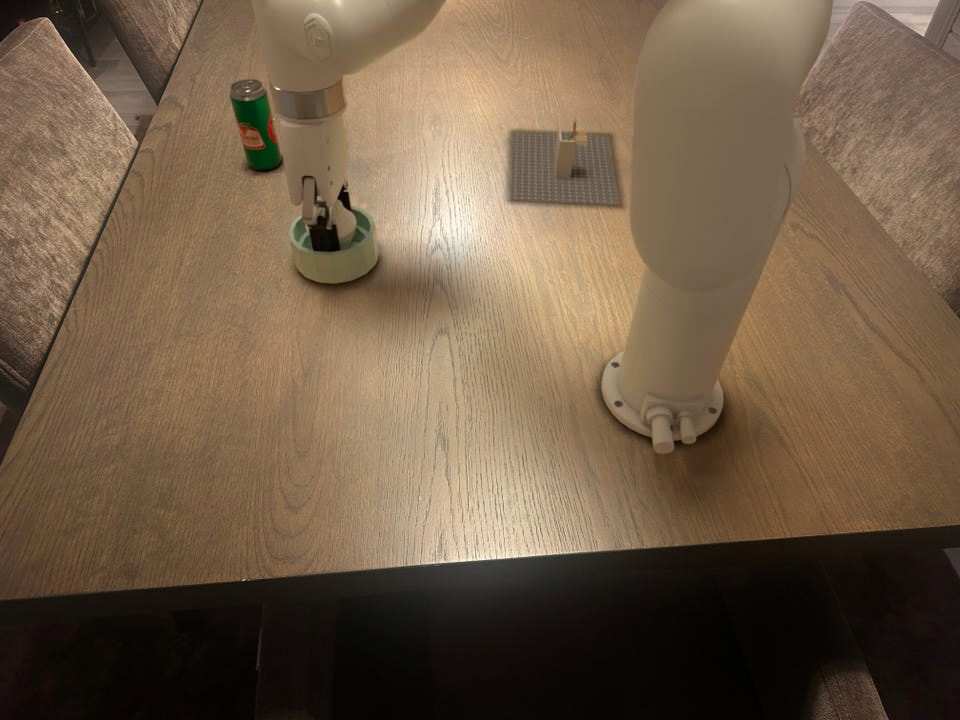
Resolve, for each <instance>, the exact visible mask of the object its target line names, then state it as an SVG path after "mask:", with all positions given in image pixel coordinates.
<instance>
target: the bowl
mask: <svg viewBox="0 0 960 720" xmlns="http://www.w3.org/2000/svg"><path fill="white" fill-rule="evenodd" d="M351 211H352V213H353V214H354V216H355V218H356V221H357V226H356V229H355V234H354V236H353V238H352V240H351V242H350V244H349V247H348V249H346V250H340V251H335V252H321V251H313V247H312V243H311V238H310V235H309V234H308V232H307V230H306V224H305V223H303V221H302V213H301V214H300V215H298V216H297V217H296V218H295V219H294V220H292V222H291V224H290V225H289V228H288V230H287V233H288V238H289V241H290V242H289V243H290V246H291V250H292V255H293V259H294V263H295V268H296V270H297V271H298V272H299V273H300V274H301V275H302V276H304V277H305V278H306V279H309V280H312V281H314V282H317V283H320V284H334V285H335V284H342V283H347V282H352V281H355V280H356V279H358V278H361V277H363V276H365V275H366V274H368V273H369V272H370V271H371V270H372V269H373V268H374V267H375V266H376V265H377V261H378V258H379V245H378V244H379V243H378V235H377V227H376V224H375V220H374V218H373V216H372V215H371V214H369V213H368V212H367V211H365V210H364V209H362V208H359V207H357V206H353V205H351Z"/></svg>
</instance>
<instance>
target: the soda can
mask: <svg viewBox="0 0 960 720" xmlns="http://www.w3.org/2000/svg"><path fill="white" fill-rule="evenodd" d="M229 99H230V103H231V106H232V110H233V113H234V118H235V122H236V125H237V129H238V132H239V138H240V142H241V144H242V147H243V153H244V156H245V160H246V162H247V165H248V166H249V167H250V168H252V169H254V170H256V171H270V170H273V169H275V168H277V167H278V166H279V165H280V164H281V162H282V159H283V158H282V154H281V148H280V145H279V140H278V136H277V130H276V125H275V122H274V117H273V113H272V112H273V111H272V108H271V103H270V100H269V95H268V90H267V89H266V88H265V87H264V85H263V82H262V81H260V80H258V79H254V78H253V79H252V78H246V79H240V80H237V81H235V82H233V83H231V85H230V92H229Z"/></svg>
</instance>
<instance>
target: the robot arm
mask: <svg viewBox="0 0 960 720" xmlns="http://www.w3.org/2000/svg"><path fill="white" fill-rule="evenodd" d="M250 1H251V5H252V6H251V7H252V9H253V14H254V19H255V24H256V29H257V32H258V33H257V34H258V37H259V38H258V39H259V42H260V48H261V53H262V57H263V61H264V66H265V70H266V74H267V75H266V76H267V79H268V83H269V88H270V93H271V97H272V102H273V107H274V112H275V114H276V116H277V117H279V118H280V139H281V150H282V157H283V158H282V159H283V165H284V171H285V176H286V183H287V189H288V194H289V200H290V203H291V204H292V205H293V206H294V207H298V206H301V205H302V208H301V209H302V211H301V214H302V221H303V223H305V224H307V228H308V229H309V233H310V238H311V243H312V247H313V251H321V252H335V251H340V244H339V238H338V232H337V226H336V224H333V213H332V205H333V204H334V203H335V202H336V200H337V199H338V200H340V201H341V202H342V204H343V207H344V208H346V209H347V210H349V211H350V212H352V211H351V206H352V205H351V199H350V198H351V197H350V192H349V191H348V188H349V182H348V179H347V174H348V171H349V168H350V152H349V144H348V137H347V131H346V130H347V129H346V125H345V119H344V115H343V114H344V113H345V111H346V110H347V108H348V99H347V93H346V85H345V79H344V77H345V76H352V75H355V74H358V73H360V72H362V71H364V70H365V69H367V68H369V67H371V66H372V65H374V64H375V63H377V62H378V61H381V60H382V59H384V58H385V57H386V56H387V55H390V54H391V53H393V52H394V51H395V50H397V49H399V48H401V47H403V46H405V45H406V44H409V43H410V42H412V41H413V40H415V39H416V38H418V37H419V36H420V35H421V34H423V33H424V32H425V31H426V29H428V27H429V26H430V25H431V24H432V23H433V21H434V20H435V18H436V17H437V15H438V13H440V11H441V9H442V8H443V6H444V4H445V3H446V1H447V0H250ZM833 5H834V0H667V1H666V3H665V4H664V5H663V6H662V8H661V9H660V10H659V12H658V13H657V15H656V16H655V18H654V19H653V21H652V23H651V25H650V26H649V29H648V30H647V33H646V35H645V37H644V40H643V43H642V46H641V50H640V52H639V57H638V61H637V66H636V68H635V76H634V82H633V83H634V84H633V99H632V119H631V120H632V121H631V122H632V123H631V147H630V149H631V150H630V151H631V152H630V174H629V175H630V177H629V203H628V204H629V207H628V209H629V214H628V215H629V227H630V232H631V237H632V241H633V244H634V247H635V249H636V251H637V253H638V255H639V257H640V259H641V260H642V262H643V263H644V265H645V267H644V270H643V274H642V278H641V281H640V285H639V290H638V293H637V297H636V302H635V305H634V309H633V314H632V317H631V320H630V321H631V322H630V326H629V330H628V334H627V338H626V342H625V346H624V350H623V351H622V350H621V351H620V352H618V353H617V354H616V355H614V356H613V357H612V358H611V359H610V360H609V361H608V363H607V364H606V366H605V367H604V370H603V374H602V378H601V384H600V385H601V386H600V389H601V394H602V398H603V401H604V403H605V405H606V407H607V408H608V410H609V411H610V413H611V414H612V415H613V416H614V418H616V419H617V420H618V421H619V422H620V423H621V424H623V425H624V426H626V427H627V428H628V429H630V430H631V431H634V432H636V433H638V434H640V435H643V436H645V437H648V438H651V440H652V449H653V451H654V452H655V453H657V454H661V455H666V454H667V455H668V454H670V453H672V452H673V451H674V450H675V441H681V442H682V443H683V444H684V445H685V444H686V445H691V444H694V443H696V441H697V437H699V436H701V435H703V434H704V433H706V432H708V431H709V430H710V429H711V428H712V427H714V425H715V424H716V422H717V421H718V419H719V418H720V415H721V414H722V410H723V406H724V403H725V399H724V391H723V388H722V385H721V382H720V381H719V376H720V374H721V371H722V369H723V367H724V364H725V362H726V359H727V357H728V355H729V352H730V350H731V348H732V345H733V342H734V340H735V338H736V335H737V333H738V331H739V328H740V325H741V323H742V321H743V319H744V316H745V313H746V311H747V308H748V306H749V304H750V302H751V300H752V297H753V295H754V294H755V290H756V288H757V285H758V283H759V281H760V279H761V276H762V275H763V274H762V273H763V271H764V269H765V266H766V264H767V262H768V259H769V256H770V254H771V252H772V250H773V247H774V246H775V243H776V240H777V238H778V235H779V233H780V231H781V229H782V226H783V224H784V222H785V220H786V217H787V215H788V213H789V210H790V208H791V207H792V204H793V202H794V199H795V197H796V195H797V193H798V190H799V188H800V185H801V183H802V180H803V177H804V173H805V168H806V161H807V148H806V147H807V146H806V140H805V137H804V132H803V131H802V128H801V126H800V124H799V123H798V121H797V119H796V117H795V113H796V109H797V104H798V101H799V97H800V93H801V92H802V91H801V90H802V88H803V85H804V83H805V81H806V79H807V78H808V76H809V74H810V72H811V71H812V69H813V67H814V65H815V63H816V62H817V60H818V58H819V56H820V54H821V51H822V50H823V47H824V44H825V42H826V40H827V38H828V34H829V31H830V27H831V21H832V14H833ZM318 197H320V198H321V199H323V200H321V199H318ZM325 200H326V201H325ZM317 207H321V208H325V217H323V216H320V215H318V214H317Z"/></svg>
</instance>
